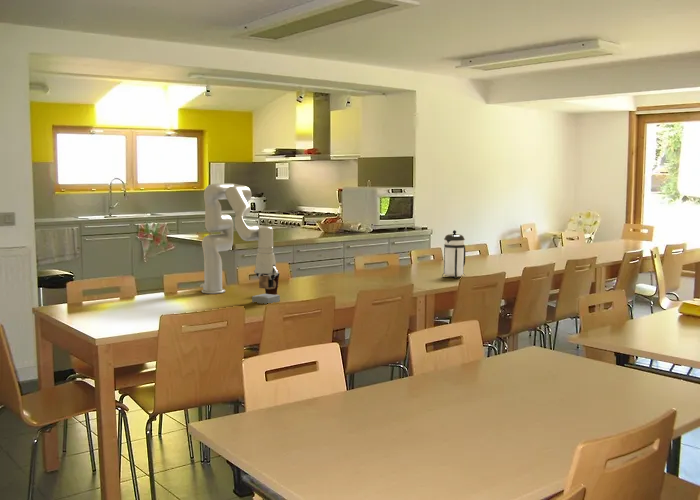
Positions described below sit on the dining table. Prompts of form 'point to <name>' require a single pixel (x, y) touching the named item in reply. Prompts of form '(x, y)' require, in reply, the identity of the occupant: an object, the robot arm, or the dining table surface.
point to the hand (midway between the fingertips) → (266, 286)
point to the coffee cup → (275, 286)
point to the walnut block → (264, 282)
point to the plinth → (266, 298)
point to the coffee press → (454, 255)
